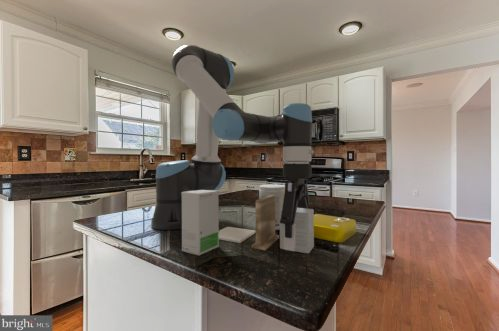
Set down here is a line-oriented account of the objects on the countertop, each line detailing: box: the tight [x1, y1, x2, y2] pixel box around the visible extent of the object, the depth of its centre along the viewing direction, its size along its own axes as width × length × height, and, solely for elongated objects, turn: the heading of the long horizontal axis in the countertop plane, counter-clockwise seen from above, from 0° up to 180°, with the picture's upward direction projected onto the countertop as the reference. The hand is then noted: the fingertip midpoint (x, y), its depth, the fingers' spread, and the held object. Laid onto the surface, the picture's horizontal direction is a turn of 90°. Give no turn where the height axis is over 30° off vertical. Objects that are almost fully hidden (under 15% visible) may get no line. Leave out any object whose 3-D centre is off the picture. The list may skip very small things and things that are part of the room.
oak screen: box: [250, 195, 280, 251], centre depth 69 cm, size 4×11×13 cm, turn 154°
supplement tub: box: [258, 183, 285, 231], centre depth 85 cm, size 10×10×15 cm
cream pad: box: [219, 226, 256, 244], centre depth 76 cm, size 11×11×1 cm
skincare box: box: [181, 190, 220, 256], centre depth 64 cm, size 8×7×16 cm
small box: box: [279, 207, 315, 254], centre depth 65 cm, size 8×6×10 cm
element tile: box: [314, 213, 357, 243], centre depth 79 cm, size 15×15×5 cm
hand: (296, 241), depth 65 cm, fingers open, 13 cm apart
